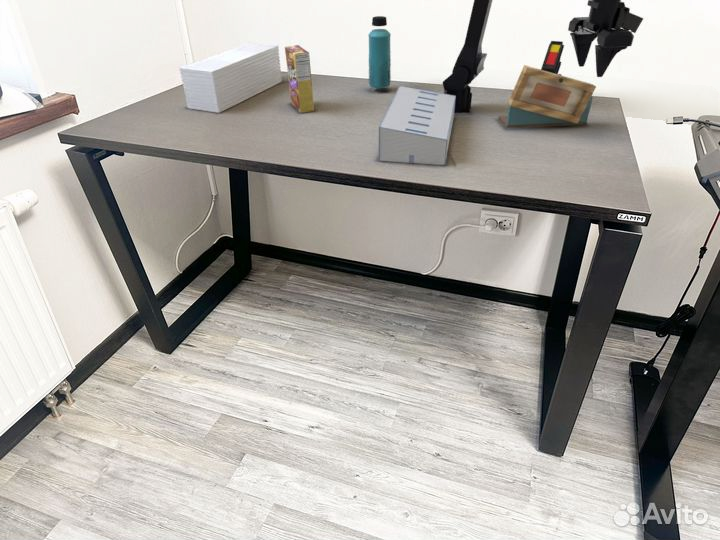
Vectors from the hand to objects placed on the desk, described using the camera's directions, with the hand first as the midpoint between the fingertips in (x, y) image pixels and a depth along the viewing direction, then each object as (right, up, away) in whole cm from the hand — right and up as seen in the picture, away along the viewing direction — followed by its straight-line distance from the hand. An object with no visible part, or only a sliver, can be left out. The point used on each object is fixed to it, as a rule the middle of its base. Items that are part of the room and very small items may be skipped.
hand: (590, 71), depth 120 cm
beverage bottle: (-48, +8, +35) cm, 59 cm away
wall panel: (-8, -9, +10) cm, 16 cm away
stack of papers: (-90, +6, +34) cm, 96 cm away
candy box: (-69, -1, +23) cm, 73 cm away
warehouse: (-39, -15, +3) cm, 42 cm away
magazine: (-2, +1, +24) cm, 24 cm away
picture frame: (-10, -9, +3) cm, 13 cm away
